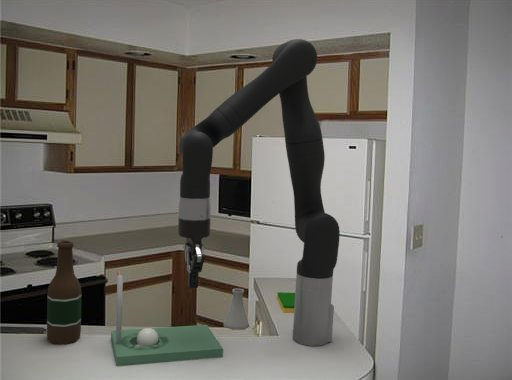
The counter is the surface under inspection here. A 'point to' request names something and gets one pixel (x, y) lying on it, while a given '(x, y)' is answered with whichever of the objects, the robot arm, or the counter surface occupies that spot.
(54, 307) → the beer bottle
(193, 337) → the putting board
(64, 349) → the counter surface
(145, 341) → the ball
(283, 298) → the dish sponge
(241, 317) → the flask
